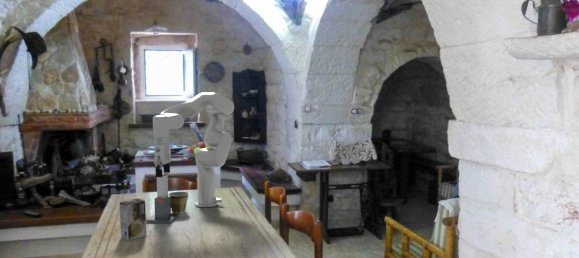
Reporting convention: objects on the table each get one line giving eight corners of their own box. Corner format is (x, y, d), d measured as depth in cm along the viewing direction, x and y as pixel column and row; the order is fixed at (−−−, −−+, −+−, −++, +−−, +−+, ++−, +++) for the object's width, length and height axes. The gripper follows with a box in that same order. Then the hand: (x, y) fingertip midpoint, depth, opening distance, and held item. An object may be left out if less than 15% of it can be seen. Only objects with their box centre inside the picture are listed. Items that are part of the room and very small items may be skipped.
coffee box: (138, 232, 207) (137, 197, 205) (146, 235, 203) (145, 200, 201) (120, 237, 200) (119, 201, 198) (128, 241, 196) (127, 204, 194)
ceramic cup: (192, 212, 240) (192, 193, 239) (175, 216, 232) (175, 197, 231) (178, 207, 248) (178, 189, 247) (162, 211, 241) (161, 192, 240)
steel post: (168, 204, 228) (167, 173, 226) (165, 207, 224) (164, 175, 222) (160, 204, 228) (159, 173, 227) (157, 206, 224) (156, 174, 223)
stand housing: (179, 216, 232) (178, 194, 231) (170, 223, 220) (169, 200, 219) (156, 215, 233) (155, 193, 232) (146, 222, 222) (145, 199, 220)
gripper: (162, 143, 214) (163, 179, 216) (175, 138, 231) (176, 171, 233) (146, 143, 215) (148, 178, 217) (161, 137, 232) (162, 170, 234)
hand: (163, 174), depth 225 cm, fingers open, 9 cm apart
